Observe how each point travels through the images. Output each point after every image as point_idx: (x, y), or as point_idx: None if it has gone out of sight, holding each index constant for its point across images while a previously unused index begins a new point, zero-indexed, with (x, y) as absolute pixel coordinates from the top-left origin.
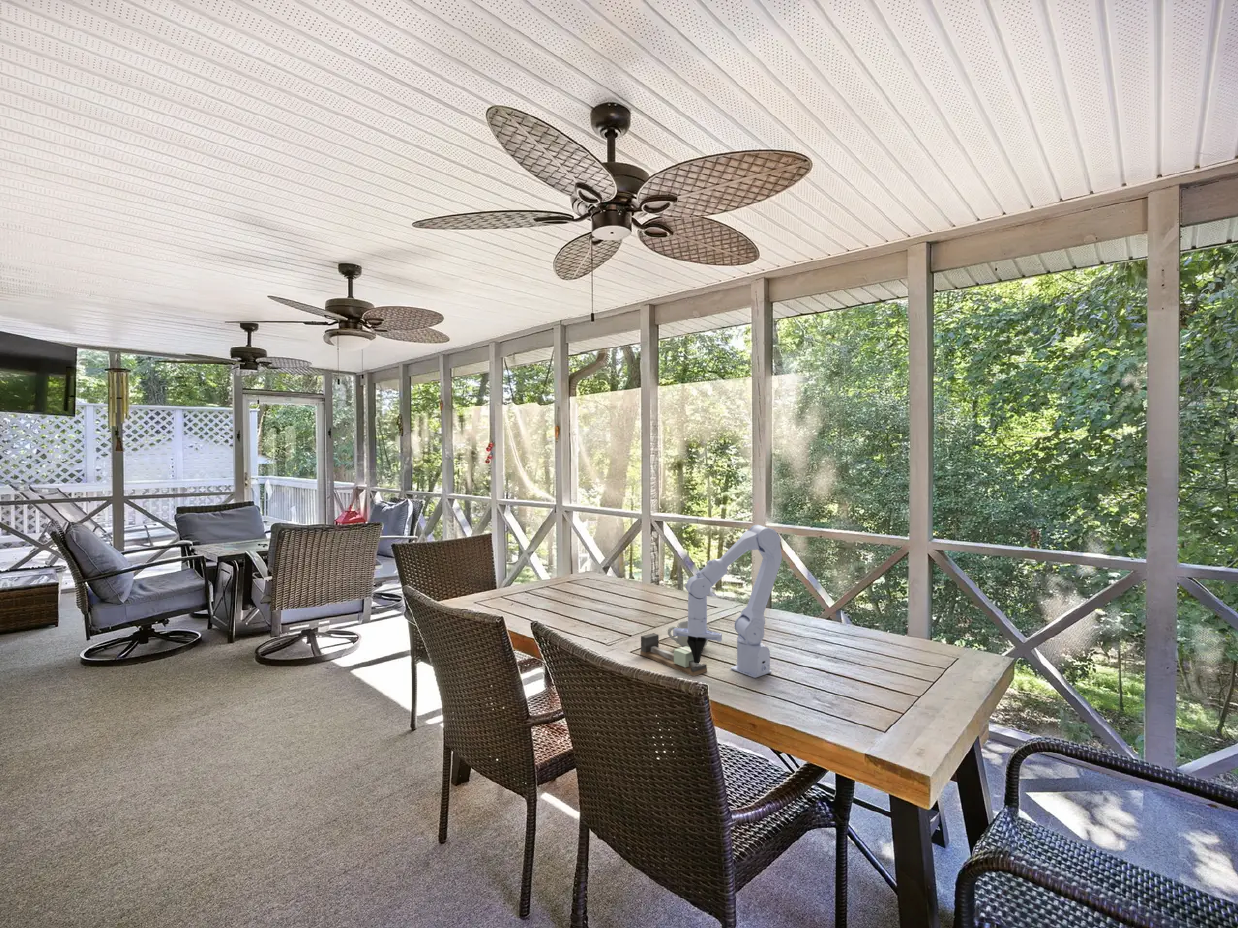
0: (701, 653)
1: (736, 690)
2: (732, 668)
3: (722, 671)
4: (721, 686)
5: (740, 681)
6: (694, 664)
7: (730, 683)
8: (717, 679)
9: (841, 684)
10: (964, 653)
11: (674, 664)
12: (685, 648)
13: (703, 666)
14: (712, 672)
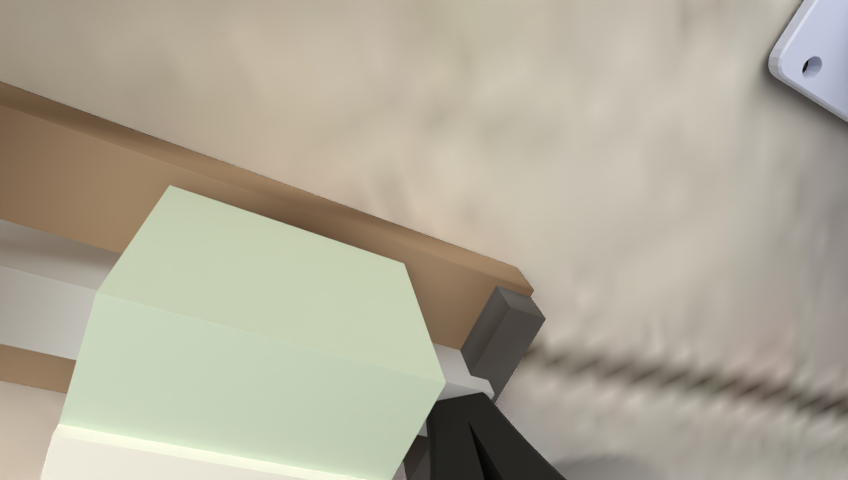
0: (541, 460)
1: (787, 469)
2: (794, 85)
3: (672, 174)
4: (686, 471)
5: (830, 318)
6: (424, 432)
7: (750, 393)
8: (644, 380)
9: None
10: None
11: None
12: (193, 459)
13: (514, 356)
14: (575, 256)
